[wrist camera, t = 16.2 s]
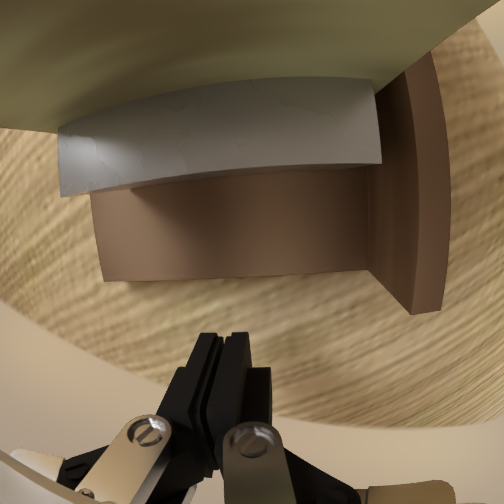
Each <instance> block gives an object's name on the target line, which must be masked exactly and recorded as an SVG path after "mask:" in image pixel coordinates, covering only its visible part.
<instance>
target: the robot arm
mask: <svg viewBox="0 0 504 504" xmlns="http://www.w3.org/2000/svg"><path fill="white" fill-rule="evenodd" d="M219 469H220V471H221V474H222V477H223V480H224V499H225V500H224V501H225V504H456V498H455V492H454V490H453V487H452V486H451V485H450V484H449V483H447V482H444V481H442V480H432V481H426V482H419V483H411V484H401V485H389V486H369V488H368V489H353V488H352V487H351V486H349V485H347V484H345V483H343V482H341V481H340V480H338V479H336V478H334V477H332V476H330V475H328V474H327V473H325V472H323V471H321V470H320V469H318V468H316V467H314V466H313V465H311V464H309V463H308V462H306V461H304V460H303V459H301V458H300V457H298V456H296V455H295V454H293V453H292V452H290V451H288V450H287V449H286V448H284V447H283V443H282V439H281V436H280V434H279V432H278V431H277V430H276V429H275V428H274V427H273V426H272V381H271V368H270V367H257V368H252V361H251V351H250V341H249V333H248V332H232V335H231V336H227V337H226V339H225V343H224V340H223V337H222V336H221V337H218V335H217V333H200V335H199V337H198V340H197V342H196V344H195V346H194V349H193V351H192V353H191V355H190V358H189V360H188V362H187V365H186V367H178V369H177V370H176V372H175V374H174V376H173V379H172V381H171V383H170V385H169V387H168V389H167V391H166V393H165V396H164V398H163V400H162V402H161V404H160V406H159V408H158V410H157V413H156V415H142V416H139V417H136V418H134V419H132V420H130V421H129V422H128V423H127V424H126V425H125V426H124V427H123V429H122V430H121V432H120V433H119V434H118V435H117V436H116V438H115V439H114V440H113V442H112V443H111V444H110V445H107V446H105V447H102V448H99V449H96V450H93V451H91V452H87V453H84V454H81V455H78V456H75V457H72V458H70V459H68V460H66V459H65V458H64V457H60V456H54V455H50V454H46V453H41V452H37V451H33V450H29V449H26V448H19V449H15V450H14V451H13V452H11V454H10V455H7V454H6V453H4V452H3V451H1V450H0V504H190V502H191V500H192V498H193V496H194V494H195V491H196V488H197V483H199V482H201V481H203V479H204V477H207V478H212V474H213V470H219ZM461 504H484V503H461Z"/></svg>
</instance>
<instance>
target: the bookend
mask: <svg viewBox="0 0 504 504" xmlns="http://www.w3.org/2000/svg"><path fill="white" fill-rule="evenodd" d="M376 164H382V157H381V145H380V135H379V126H378V118H377V110H376V104H375V97H374V91H373V85H372V79H363V78H349V77H319V76H306V77H275V78H261V79H249V80H239V81H231V82H223V83H216V84H209V85H203V86H197V87H192V88H186V89H181V90H176V91H172V92H167V93H163V94H158V95H154V96H150V97H146V98H142V99H139V100H135V101H131V102H128V103H124V104H121V105H118V106H115V107H111V108H108V109H105V110H102V111H99V112H96V113H94V114H91V115H88V116H85V117H83V118H80V119H77V120H75V121H72V122H70V123H67V124H65V125H62V126H60V127H58V168H59V183H60V195H61V198H63V197H70V196H77V195H84V194H92V193H101V192H110V191H119V190H128V189H134V188H140V187H147V186H153V185H160V184H167V183H174V182H181V181H189V180H197V179H206V178H215V177H225V176H236V175H247V174H260V173H275V172H292V171H316V170H343V169H349V168H356V167H362V166H369V165H376Z"/></svg>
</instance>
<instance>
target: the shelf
mask: <svg viewBox="0 0 504 504" xmlns="http://www.w3.org/2000/svg"><path fill="white" fill-rule="evenodd" d="M498 1H500V0H0V128H8V129H19V130H29V131H38V132H47V133H55V134H58V127H60V126H62V125H65V124H67V123H70V122H72V121H75V120H77V119H80V118H83V117H85V116H88V115H91V114H94V113H96V112H99V111H102V110H105V109H108V108H111V107H115V106H118V105H121V104H124V103H128V102H131V101H135V100H139V99H142V98H146V97H150V96H154V95H158V94H163V93H167V92H172V91H176V90H181V89H186V88H192V87H197V86H203V85H209V84H216V83H223V82H231V81H239V80H249V79H261V78H275V77H306V76H319V77H349V78H363V79H372V85H373V91H374V97H375V104H376V110H377V118H378V126H379V135H380V145H381V157H382V164H376V165H369V166H362V167H356V168H349V169H343V170H316V171H292V172H275V173H260V174H247V175H236V176H225V177H215V178H206V179H197V180H189V181H181V182H174V183H167V184H160V185H153V186H147V187H140V188H134V189H128V190H119V191H110V192H101V193H92V194H90V199H91V208H92V216H93V224H94V230H95V237H96V243H97V249H98V254H99V260H100V265H101V270H102V275H103V279H104V282H111V281H157V280H189V279H215V278H238V277H258V276H277V275H294V274H311V273H326V272H340V271H354V270H368V271H369V272H370V273H371V274H372V275H373V276H374V277H375V278H376V279H377V280H378V281H379V282H380V283H381V284H382V285H383V286H384V287H385V288H386V289H387V290H388V291H389V292H390V293H391V294H392V295H393V296H394V297H395V298H396V300H397V301H398V302H399V303H400V304H401V305H402V306H403V307H404V308H405V309H406V310H407V311H408V312H409V314H410V315H415V314H422V313H428V312H434V311H440V310H441V306H442V301H443V294H444V288H445V281H446V273H447V264H448V253H449V240H450V218H451V186H450V164H449V151H448V141H447V132H446V124H445V117H444V111H443V105H442V99H441V94H440V89H439V84H438V80H437V75H436V71H435V67H434V63H433V60H432V56H431V52H430V50H431V49H433V48H434V47H435V46H437V45H438V44H439V43H441V42H442V41H443V40H445V39H446V38H447V37H449V36H450V35H452V34H453V33H454V32H456V31H457V30H458V29H460V28H461V27H462V26H464V25H465V24H467V23H468V22H469V21H471V20H472V19H474V18H475V17H476V16H478V15H479V14H481V13H482V12H484V11H485V10H486V9H488V8H490V7H491V6H493V5H494V4H495V3H497V2H498Z"/></svg>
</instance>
